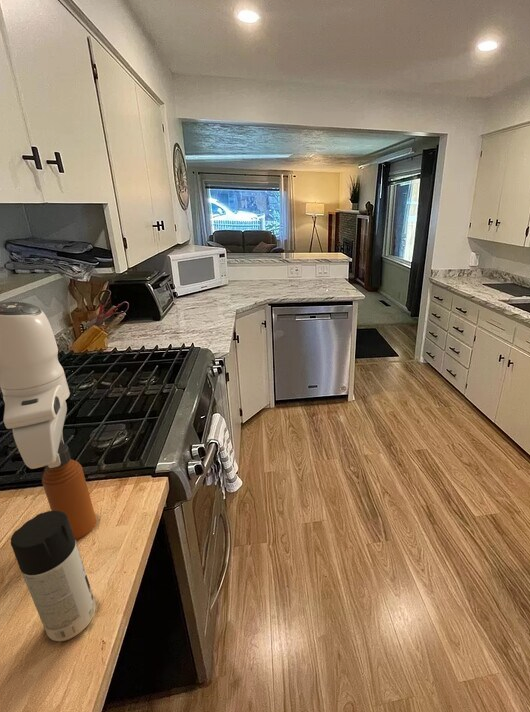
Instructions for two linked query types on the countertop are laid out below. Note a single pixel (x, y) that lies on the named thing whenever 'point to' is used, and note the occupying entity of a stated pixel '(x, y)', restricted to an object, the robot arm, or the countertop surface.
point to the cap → (63, 455)
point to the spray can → (54, 574)
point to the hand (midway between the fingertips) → (57, 456)
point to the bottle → (70, 496)
